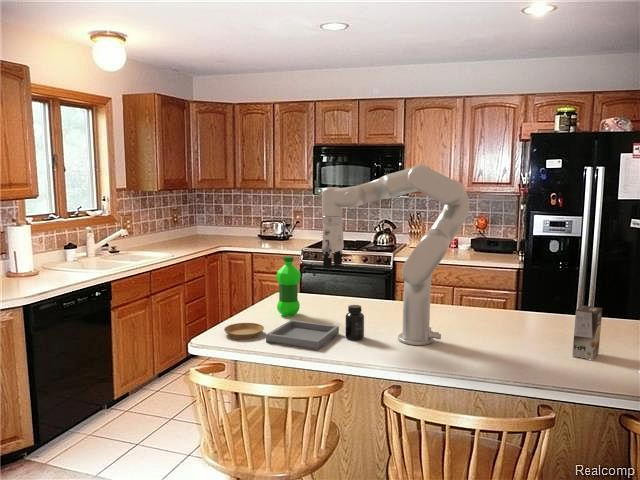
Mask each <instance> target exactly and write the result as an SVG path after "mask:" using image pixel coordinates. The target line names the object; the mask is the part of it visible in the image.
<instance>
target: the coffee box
mask: <svg viewBox="0 0 640 480" xmlns="http://www.w3.org/2000/svg"><path fill="white" fill-rule="evenodd" d="M602 316H603V307H597V306H591V305H590V306H589V305H582V306H579V307H578V308H576V309H575V317H574V318H575V320H574V330H573V340H572V341H573V343H572V355H573V356H577V357H581V358H580V359H582V358H586V359H591V360H590V361H593V360H594V359H595V358H596V357H597V356H598V355H599V354H598V353H600V352H599V351H600V341H601V329H602V318H603V317H602ZM597 354H598V355H597ZM572 355H571V356H572ZM596 355H597V356H596ZM573 356H572V357H573ZM595 356H596V357H595ZM577 357H576V358H577ZM586 359H585V360H586Z"/></svg>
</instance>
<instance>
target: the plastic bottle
mask: <svg viewBox="0 0 640 480" xmlns="http://www.w3.org/2000/svg"><path fill="white" fill-rule="evenodd" d="M283 262H284V264H283V266H282V267H280V268H279V269H278V270H277V273H276V275H275V279H276V282H277V283H278V284H279V285H278V286H279V287H278V289H279V290H278V291H279V293H278V297H279V298H278V299H279V300H278V302H277V305H276V309H277V311H278V313H279V314H280V315H282V316H283V317H288V318H289V316H290V317H294V316H295V315H296V314H298V312H299V310H300V307H301V306H300V300H299V299H298V294H299V293H298V289H299V288H298V284H299V283H300V282H301V278H302V277H301V275H302V274H301V271H300V270H299V269H298V268H297V267H296V266H294V265H293V262H294V256H292V255H286V256H285V255H284V256H283Z"/></svg>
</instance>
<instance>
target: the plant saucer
mask: <svg viewBox="0 0 640 480" xmlns="http://www.w3.org/2000/svg"><path fill="white" fill-rule="evenodd" d="M264 329H265V327H264V326H263V325H262V324H260V323H255V322H237V323H232V324H229V325H227V326H225V327H224V328H223V330H224V332H225V333H226V334H227V336H229V337H230V338H231V339H232V338H233V339H236V340H248V339H254V338H257V337H258V336H260V335H261V333H262V332H263V331H264Z"/></svg>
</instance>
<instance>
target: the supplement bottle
mask: <svg viewBox="0 0 640 480" xmlns="http://www.w3.org/2000/svg"><path fill="white" fill-rule="evenodd" d="M347 308H348V309H347V311H348V312H347V313H346V315H345V339H346V340H349V341H354V342H355V341H357V342H358V341H362V340H363V339H364V337H365V315H364V313H362V310H363V309H362V306H361V305H359V304H350V305H348V307H347Z"/></svg>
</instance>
